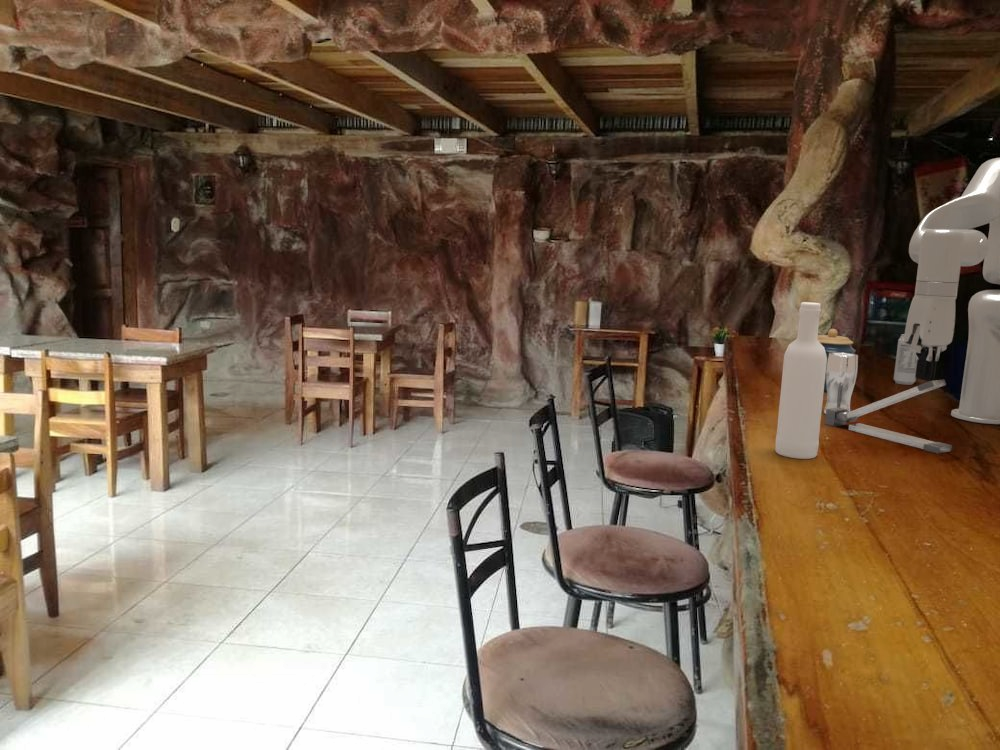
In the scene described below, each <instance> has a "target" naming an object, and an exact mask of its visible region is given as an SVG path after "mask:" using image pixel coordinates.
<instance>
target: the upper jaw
mask: <svg viewBox="0 0 1000 750" xmlns="http://www.w3.org/2000/svg"><path fill="white" fill-rule="evenodd" d="M944 386H947V383H946V380H945V379H934V380H929V381H927V382H924V383H921V384H919V385H917V386H914V387H912V388H909V389H907V390H904V391H901V392H898V393H896V394H894V395H891V396H888V397H886V398H882V399H880V400H877V401H874V402H872V403H869V404H867V405H863V406H862V407H859V408H856V409H853V410H850V411H848V412H840V413H838V414H837V415H836V419H837V421H838V422H839V423H845V422H846V423H850V422H856V421H857V420H858V418H859V417H862V416H864V415H867V414H870V413H872V412H875V411H878V410H881V409H883V408H886V407H888V406H891V405H895V404H896V403H900V402H902V401H906V400H907V399H910V398H912V397H913V398H914V397H916V396H918V395H921V394H924V393H927V392H930V391H933V390H936V389H939V388H941V387H944Z"/></svg>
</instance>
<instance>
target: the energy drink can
mask: <svg viewBox="0 0 1000 750" xmlns="http://www.w3.org/2000/svg"><path fill="white" fill-rule="evenodd" d="M904 335H905V333H902V334H900V337H899V338H898V340H897V349H896V357H895V366H894V371H893V372H894V373H893V381H895V384H898V385H906V386H912V385H914V383H915V382H916V380H917V378H915V375H916V367H917V359H916V353H915V352H912V351H910V347H911V344H906V343H905V342H904Z"/></svg>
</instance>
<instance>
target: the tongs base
mask: <svg viewBox="0 0 1000 750" xmlns="http://www.w3.org/2000/svg"><path fill="white" fill-rule="evenodd" d="M840 412H848V409H843V408H839V407H838V408H830V409H826V414H825V419H824V424H825V425H827V426H832V427H837V426H839V427H840V426H845V425H847V422H845V423H839V422H838V421H837V419H836V415H837V414H838V413H840ZM848 431H852V432H856V433H860V434H864V435H867V436H872V437H875V438H879V439H882V440H887V441H890V442H894V443H898V444H902V445H906V446H909V447H913V448H917V449H921V450H923V451H927V452H929V453H933V454H934V453H935V454H942V453H947V452H951V451H952V449H953V448H952V447H953V445H952V444H948V443H944V442H940V441H934V440H928V439H924V438H922V437H921V438H920V437H917V436H913V435H909V434H905V433H900V432H896V431H893V430H889V429H884V428H880V427H876V426H872V425H867V424H864V423H860V422H859V423H851V424H848Z"/></svg>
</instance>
